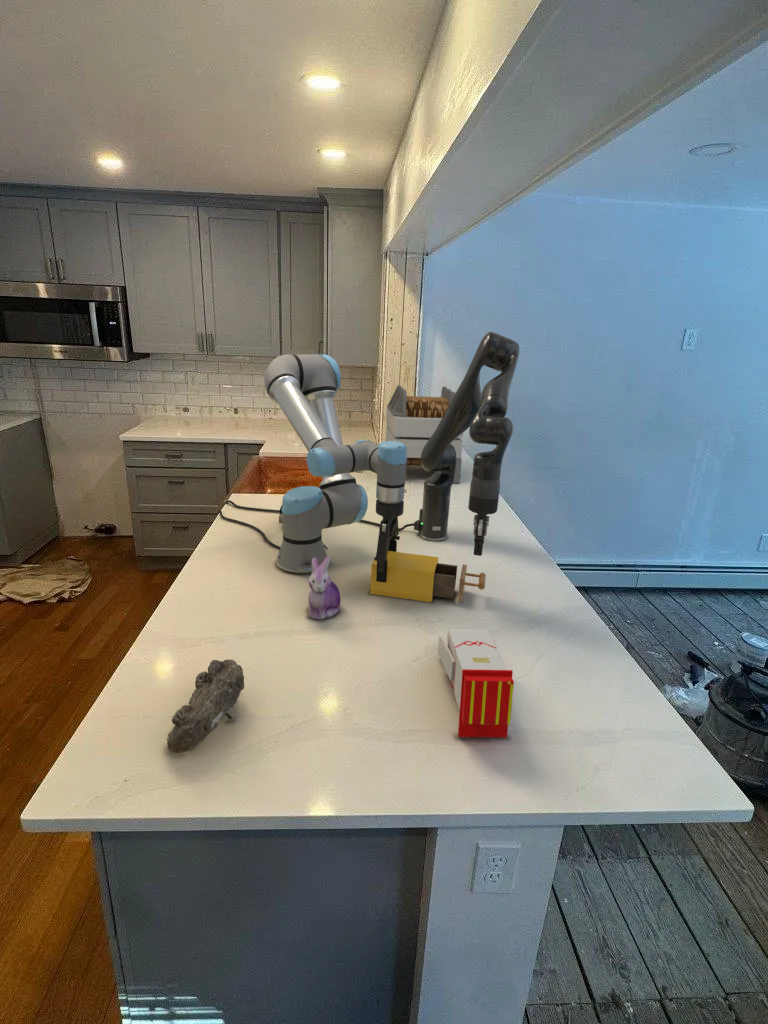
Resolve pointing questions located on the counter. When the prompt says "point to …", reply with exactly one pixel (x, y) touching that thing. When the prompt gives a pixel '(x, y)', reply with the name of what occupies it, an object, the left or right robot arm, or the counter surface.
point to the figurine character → (280, 516)
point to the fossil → (206, 705)
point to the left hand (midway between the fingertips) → (386, 571)
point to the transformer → (418, 423)
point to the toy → (478, 682)
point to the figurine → (322, 591)
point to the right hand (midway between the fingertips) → (477, 554)
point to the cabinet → (406, 576)
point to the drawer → (453, 581)
